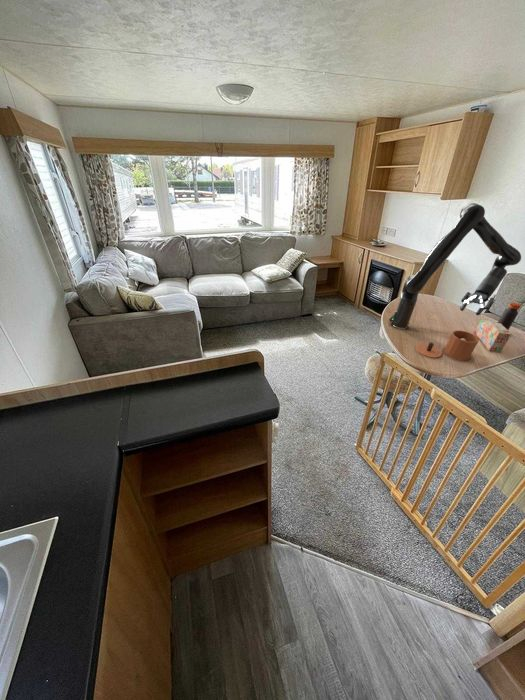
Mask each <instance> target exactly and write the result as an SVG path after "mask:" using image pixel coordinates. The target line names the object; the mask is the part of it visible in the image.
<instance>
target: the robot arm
mask: <svg viewBox="0 0 525 700" xmlns="http://www.w3.org/2000/svg"><path fill="white" fill-rule="evenodd" d="M485 215H486V209H485V207H484V206H483V205H481V204H479V203H476V202H471V203H468V204H466V205H464V206H463V207H462V208H461V210H460V212H459V220H458V221H457V223H456V224H455V226H454V227H453V228H452V229H451V230H450V231H449V232H448V233H447V234H445V235H444V236H443V237H442V238H441V239H439V241H437V243H435V245H434V246H433V248H432V249H431V250H430V251H429V253H428V254H427V256H426V258H425V260H424V262H423V264H422V265H421V267H420V269H419V270H418V271H417V272H416V273H415V274H410V275H409V276H408V277H406V279H405V281H404V283H403V286H402V289H401V290H402V291H401V295H400V298H399V302H398V304H397V307H396V310H395V312H394V314H393V315H392V316H390V318H389V319H388V320H389V322H390V326H392V327H393V328H396V329H400V330H406V329H407V328H408V327H409V324H410V321H411V317H412V315H413V312H414V310H415V307H416V304H417V302H418V296H419V292H421V291H422V290H423V289H424V288H425V286H426V284H427V283H428V281H429V280H430V279H431V277H432V276H433V275H434V274H435V273H436V272H437V270H438V269H439V268H440V267H441V266H442V265H443V264H444V263H445V262H446V261H447V259H448V258H449V257H450V256H451V254H453V252H454V251H455V250H456V249H457V247H458V246H459V245H460V244H461V242H462V241H463V240H464V238H465V237H466V236H467V235H468V234H469V233H470V232H471V231H472V230H473V231H474V232H475V233H476V234H477V235H478V237H479V238H480V239H481V241H482V242H483V244H484V245H485V246H486V247H487V248H488V250H489V251H490V252H491V253H492V254H494V255H497V256H496V258H495V259H494V262H493V264H492V267H491V269H490V271H489V272H488V273H487V275H486V276H485V278H483V280H482V281H481V282H480V283H479V284H478V286H477V288H476V289H475V291H474V292H473V293H471V292H469V291H468V292H466V293H465V294H464V296H463V297H462V299H461V300H460V302H461V303H462V304H461V306H460V307H459V310H460V311H461V312H464V311H465V309H466V307H467V306H468V305H470V304H473V303H474V304H478V305H480V307H479V308H478V309H477V311H476V312H475V315H476V316H480V315H481V314H482V313H483V312H484V311H485V310H487V311H488V310H490V309H491V308H492V306H493V304H494V303H495V301H496V300H495V298H494V297H492V295H493V294H494V293H495V291H496V290H497V289H498V287H499V286H500V284H501V282H502V281H503V279H504V278H505V277H506V275H507V273H508V271H507V269H506V268H507V267H508V266H515V265H516V266H517V265H518V264H519V263H521V260H522V254H521V252H520V251H519V250H518V249H517V248H515V247H514V246H513V245H511V244H509V243H508V242H507V241H506V239H505V238H504V237H503V236H502V234H500V232H499V231H497V229H495V228H494V227H493V226H492V225H491V223H489V221H488V220H487V219H486V218H485ZM486 302H487V303H486Z"/></svg>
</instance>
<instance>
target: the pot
mask: <svg viewBox="0 0 525 700" xmlns="http://www.w3.org/2000/svg"><path fill="white" fill-rule="evenodd" d="M462 338H464V339H466V341H464V340H461V339H462ZM479 340H480V339H479V337H478V336H477V335H476V334H474V333H471V332H469V331H466V330H458V329H457V330H453V331H452V332H451V335H450V337H449V338H448V341H447V343H446V345H445V347H444V349H443V352H444V353H445V355H447V356H448V357H450V358H452V359H454V360H458V361H468V360H469V359H470V358H471V356H472V354H473V352H474V350H475V348H476V347H477V345H478V343H479Z"/></svg>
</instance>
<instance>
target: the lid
mask: <svg viewBox="0 0 525 700" xmlns="http://www.w3.org/2000/svg"><path fill="white" fill-rule="evenodd" d="M415 350H416V352H417V353H419V354H420V355H422V356H424V357H426V358H432V359H437V358H441V357H442V354H443V352H442V350H440V349H439V348H438V347H437V346H435V343H434V342H432V341H429V343H417V344H416V346H415Z"/></svg>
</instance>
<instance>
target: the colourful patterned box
mask: <svg viewBox="0 0 525 700" xmlns="http://www.w3.org/2000/svg"><path fill="white" fill-rule="evenodd" d="M474 333H475V336H477V337H478V339H479V340H480V341H481V342H482V344H483V346H485V348H486V350H487V351H489V352H496V353H501V352H502V350H503V349H504V348H505V346H506V344H507V342H508V341H509V339H510V338H511V336H512V333H511V332H510V331H509V330H507V329H506V328H505V327H504V326H503V325H502V324H500V323H498V322H493V321H492V320H488V319H487V320H486V319H480V321H479V322H478V325H477V327H476V329H475V330H474Z"/></svg>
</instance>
